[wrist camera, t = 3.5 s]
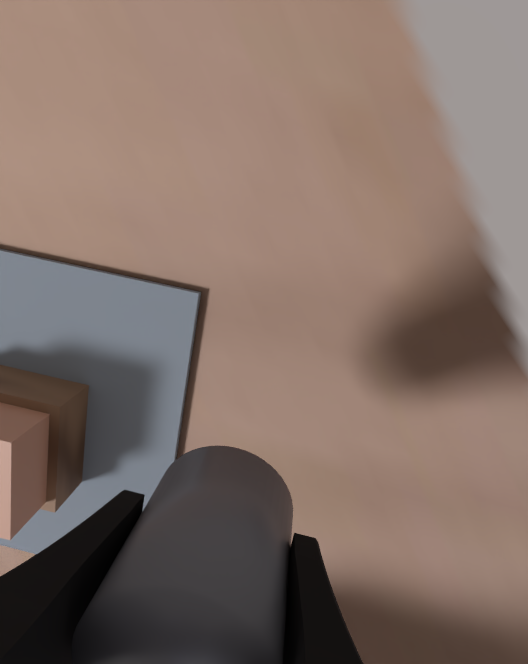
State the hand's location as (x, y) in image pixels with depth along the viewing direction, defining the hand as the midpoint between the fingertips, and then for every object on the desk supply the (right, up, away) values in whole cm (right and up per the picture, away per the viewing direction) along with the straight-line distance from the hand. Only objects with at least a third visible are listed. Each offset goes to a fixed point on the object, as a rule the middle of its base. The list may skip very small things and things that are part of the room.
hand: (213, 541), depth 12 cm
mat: (-11, +1, +11) cm, 16 cm away
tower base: (-11, +1, +10) cm, 15 cm away
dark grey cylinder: (0, 0, +1) cm, 1 cm away
